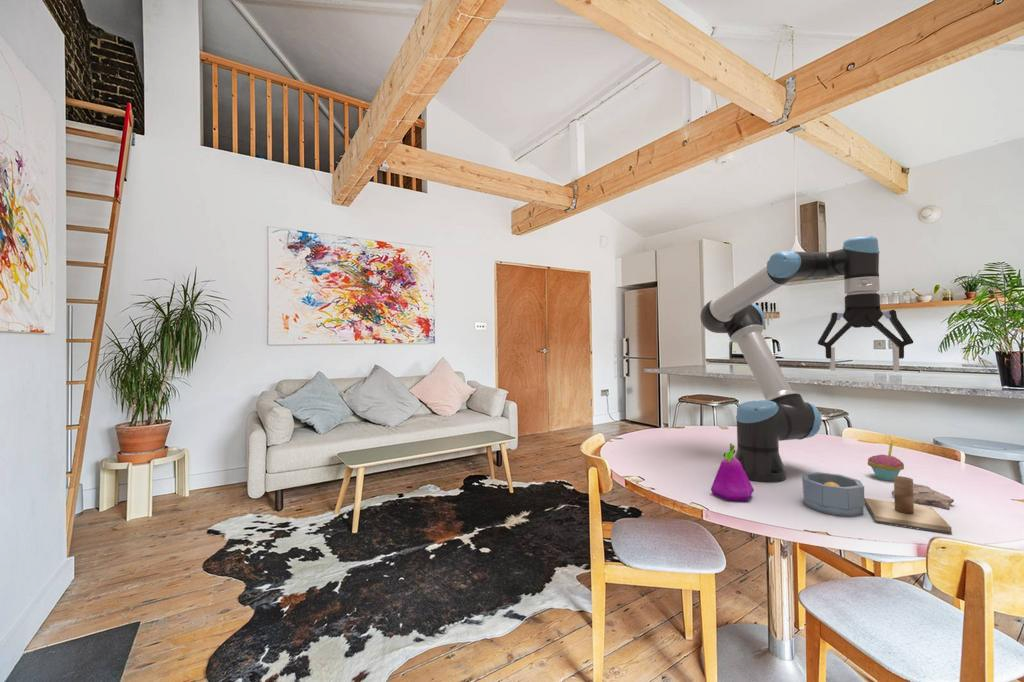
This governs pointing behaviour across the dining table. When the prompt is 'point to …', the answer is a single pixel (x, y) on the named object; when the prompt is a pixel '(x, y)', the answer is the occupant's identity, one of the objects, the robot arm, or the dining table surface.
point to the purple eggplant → (732, 479)
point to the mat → (911, 526)
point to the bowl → (833, 494)
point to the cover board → (907, 519)
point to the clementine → (831, 483)
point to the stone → (930, 497)
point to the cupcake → (886, 465)
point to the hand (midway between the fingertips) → (863, 370)
